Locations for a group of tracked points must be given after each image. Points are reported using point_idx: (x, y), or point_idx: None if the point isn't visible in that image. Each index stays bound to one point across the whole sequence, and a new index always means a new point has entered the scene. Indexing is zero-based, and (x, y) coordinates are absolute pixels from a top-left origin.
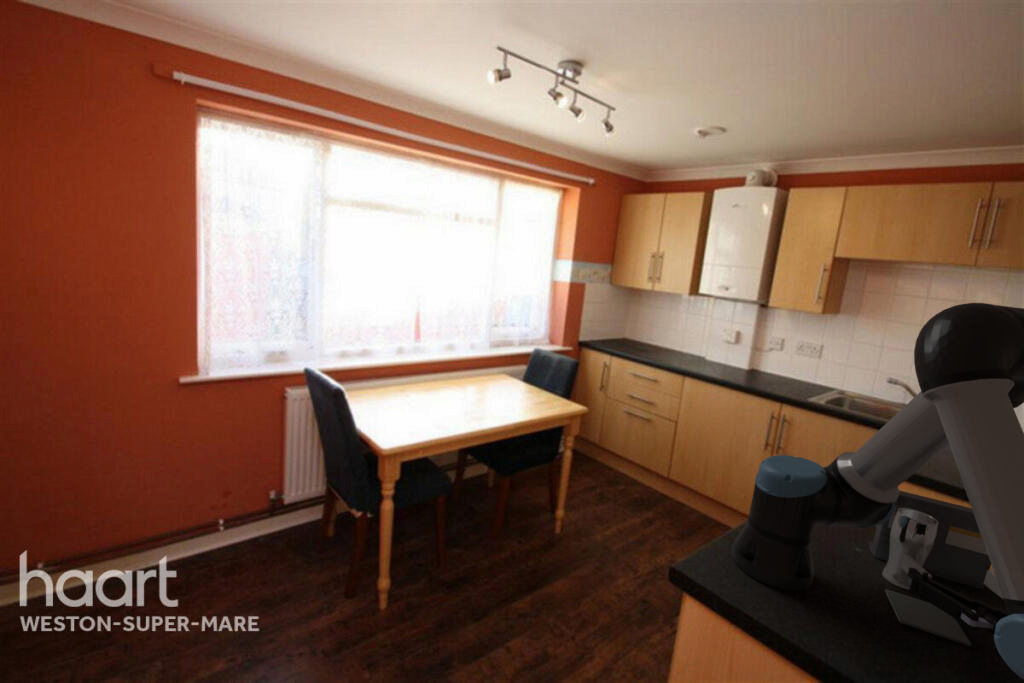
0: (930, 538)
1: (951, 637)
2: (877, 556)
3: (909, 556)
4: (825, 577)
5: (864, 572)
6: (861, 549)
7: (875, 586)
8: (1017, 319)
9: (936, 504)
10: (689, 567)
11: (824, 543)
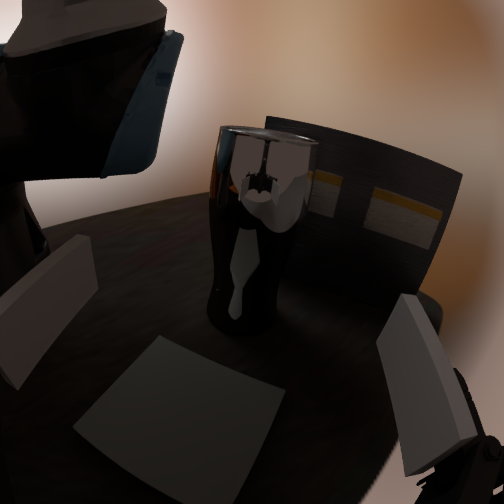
0: (277, 189)
1: (175, 498)
2: None
3: (83, 240)
4: None
5: (173, 293)
6: None
7: (151, 327)
8: None
9: (352, 135)
10: None
11: (171, 240)
